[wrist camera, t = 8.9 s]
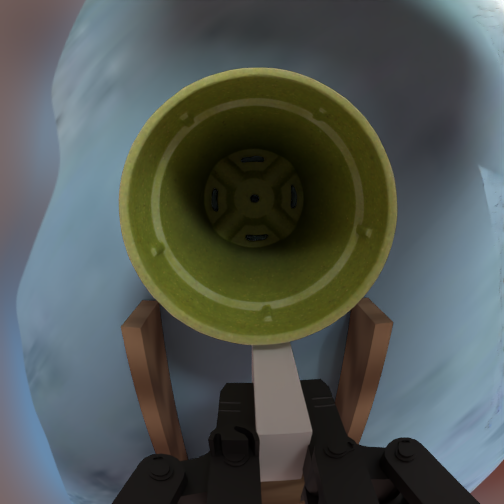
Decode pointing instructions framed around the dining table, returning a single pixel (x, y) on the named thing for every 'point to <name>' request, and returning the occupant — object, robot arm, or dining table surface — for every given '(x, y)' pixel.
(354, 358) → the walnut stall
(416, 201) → the dining table surface
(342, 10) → the dining table surface
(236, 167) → the plant pot
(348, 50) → the dining table surface
